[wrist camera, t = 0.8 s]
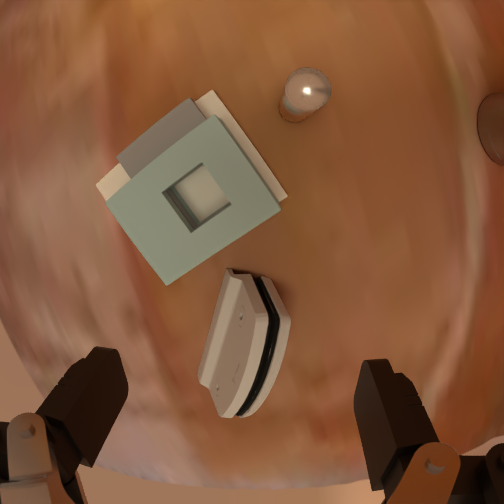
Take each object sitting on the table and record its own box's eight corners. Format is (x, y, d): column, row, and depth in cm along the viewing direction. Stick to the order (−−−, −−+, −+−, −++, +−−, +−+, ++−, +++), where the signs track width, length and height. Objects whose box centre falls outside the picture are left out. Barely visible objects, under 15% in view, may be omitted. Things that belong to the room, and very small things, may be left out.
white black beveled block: (227, 264, 34) (254, 317, 26) (266, 270, 36) (303, 320, 27) (196, 376, 40) (211, 435, 31) (230, 377, 41) (250, 433, 33)
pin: (297, 88, 28) (314, 60, 18) (314, 112, 29) (339, 95, 18) (272, 103, 29) (277, 81, 18) (289, 128, 30) (303, 117, 19)
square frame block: (213, 91, 29) (204, 80, 24) (287, 194, 32) (291, 203, 27) (99, 183, 32) (75, 190, 27) (166, 275, 35) (152, 295, 30)
